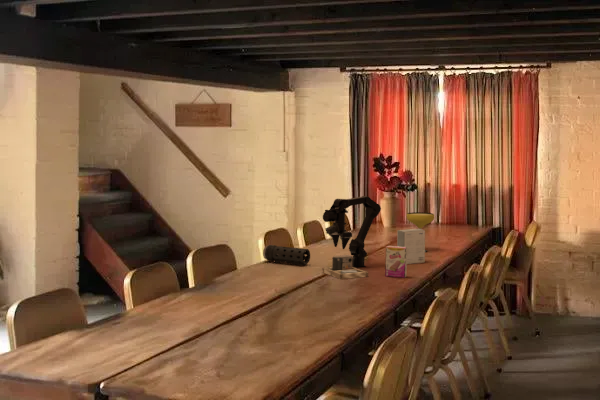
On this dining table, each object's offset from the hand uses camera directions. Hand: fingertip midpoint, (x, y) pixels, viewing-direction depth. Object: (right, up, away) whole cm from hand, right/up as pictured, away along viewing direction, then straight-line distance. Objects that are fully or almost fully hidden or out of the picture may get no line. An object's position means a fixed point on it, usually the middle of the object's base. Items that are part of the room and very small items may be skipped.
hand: (339, 247), depth 426 cm
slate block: (+4, -14, -21) cm, 26 cm away
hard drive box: (+44, -11, +24) cm, 51 cm away
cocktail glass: (+57, -7, +69) cm, 90 cm away
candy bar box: (+30, -14, -21) cm, 39 cm away
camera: (+1, -14, -13) cm, 19 cm away
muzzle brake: (-31, -11, +16) cm, 36 cm away
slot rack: (+2, -14, -17) cm, 22 cm away
